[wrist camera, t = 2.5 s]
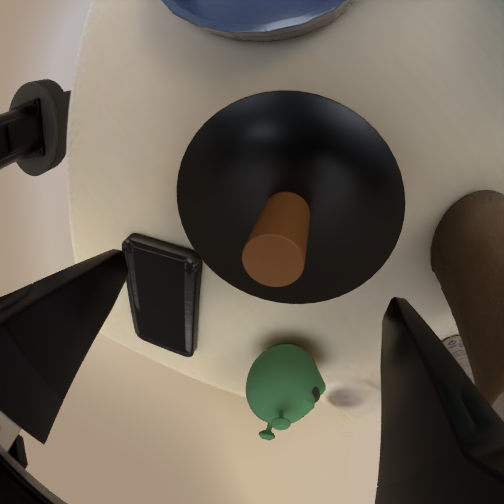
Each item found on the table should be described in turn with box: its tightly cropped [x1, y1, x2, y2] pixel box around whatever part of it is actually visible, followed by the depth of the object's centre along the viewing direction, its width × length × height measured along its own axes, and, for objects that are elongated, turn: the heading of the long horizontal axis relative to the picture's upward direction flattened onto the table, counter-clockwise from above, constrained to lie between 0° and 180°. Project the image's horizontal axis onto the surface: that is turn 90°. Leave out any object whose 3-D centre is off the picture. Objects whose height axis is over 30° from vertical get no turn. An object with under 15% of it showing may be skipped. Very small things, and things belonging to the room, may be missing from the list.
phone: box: [122, 233, 202, 357], centre depth 28 cm, size 8×1×15 cm
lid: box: [177, 91, 405, 304], centre depth 13 cm, size 12×12×6 cm
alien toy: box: [246, 344, 325, 440], centre depth 24 cm, size 7×8×10 cm
